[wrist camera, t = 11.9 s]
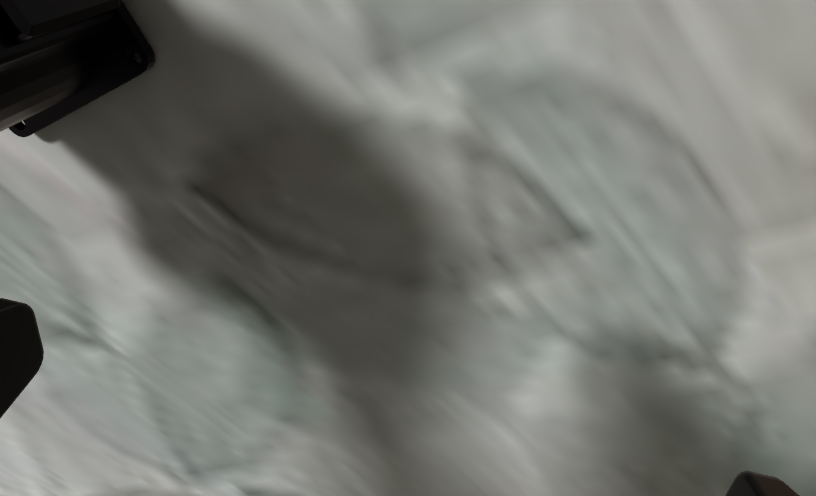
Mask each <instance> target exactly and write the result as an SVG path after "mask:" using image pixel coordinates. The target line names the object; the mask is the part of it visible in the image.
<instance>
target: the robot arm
mask: <svg viewBox="0 0 816 496" xmlns="http://www.w3.org/2000/svg"><path fill="white" fill-rule="evenodd" d="M133 50H134V51H136V52H137V53H138V54H139V56H140V58H141V63H140V62H137V60H136V59H135V58H134V56H133ZM154 63H155V55H154V52H153V50H152V48H151V46H150V45H149V43H148V42H147V40H146V39H145V37H144V35H143V34H142V32H141V31H140V29H139V27H138V26H137V24H136V23H135V21H134V20H133V18H132V16H131V15H130V13H129V12H128V10H127V9H126V7H125V5H124V4H123V2H122V1H121V0H0V131H2V130H4V129H7V128H9V129H10V130H11V131H12V132H13V133H14V134H16V135H18V136H21V137H27V136H30V135H31V134H33V133H35V132H37V131H39V130H41V129H43V128H44V127H46V126H48V125H50V124H52V123H54V122H55V121H57V120H59V119H61V118H63V117H64V116H66V115H68V114H70V113H72V112H73V111H75V110H77V109H79V108H81V107H83V106H84V105H86V104H88V103H90V102H92V101H93V100H95V99H97V98H99V97H101V96H103V95H104V94H106V93H108V92H110V91H112V90H113V89H115V88H117V87H119V86H121V85H123V84H124V83H126V82H128V81H130V80H132V79H133V78H135V77H137V76H139V75H141V74H143V73H144V72H146V71H148V70H150V69H151V68H152V67H153V66H154ZM22 121H24V123H25V125H24V124H23V123H22ZM43 354H44V351H43V346H42V342H41V338H40V334H39V330H38V326H37V322H36V318H35V314H34V311H33V310H32V308H31V307H30V306H29V305H27V304H25V303H21V302H17V301H12V300H8V299H3V298H0V418H1V417H2V416H3V414H4V413H5V412H6V411H7V409H8V408H9V407H10V406H11V404H12V403H13V402H14V401H15V400H16V398H17V397H18V396H19V395H20V393H21V392H22V391H23V390H24V388H25V387H26V386H27V385H28V383H29V382H30V381H31V380H32V378H33V377H34V376H35V375H36V373H37V372H38V370H39V368H40V366H41V364H42V361H43ZM725 496H799V495H798V494H797V493H796V492H794V491H793V490H792V489H791V488H790V487H789V486H788V485H786V484H785V483H784V482H783V481H781V480H780V479H778V478H776V477H772V476H768V475H763V474H759V473H755V472H750V471H744V472H741V473H740V474H738V475H737V477H736V478H735V480H734V481H733V483H732V485H731V487H730V488H729V490H728V492H727V494H726V495H725Z"/></svg>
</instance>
